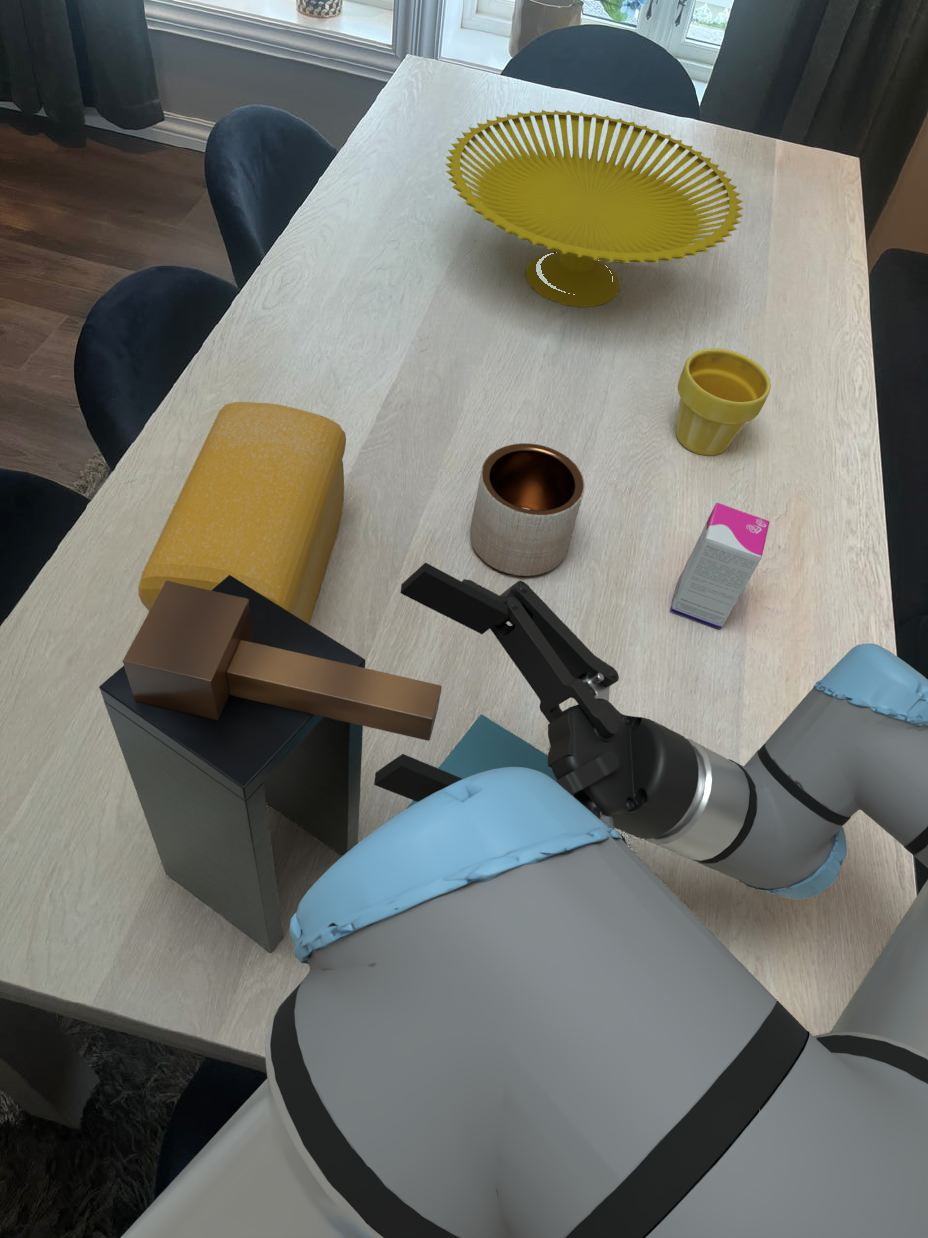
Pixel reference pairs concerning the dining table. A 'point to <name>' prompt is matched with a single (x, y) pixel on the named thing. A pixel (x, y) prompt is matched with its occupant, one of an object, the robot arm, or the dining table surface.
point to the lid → (492, 752)
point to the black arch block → (241, 778)
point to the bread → (256, 508)
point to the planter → (526, 508)
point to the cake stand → (590, 202)
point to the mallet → (259, 669)
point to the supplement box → (720, 566)
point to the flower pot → (718, 398)
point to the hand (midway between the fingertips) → (400, 665)
